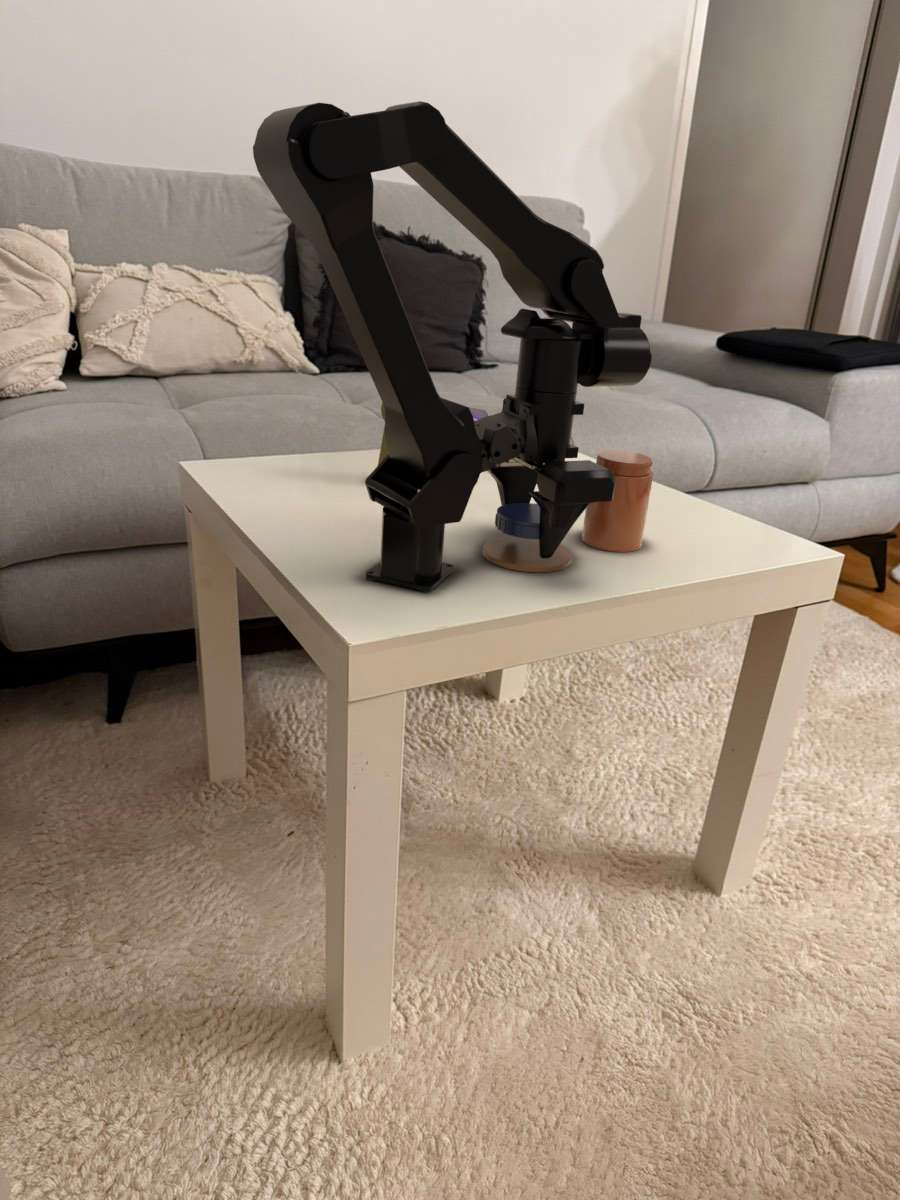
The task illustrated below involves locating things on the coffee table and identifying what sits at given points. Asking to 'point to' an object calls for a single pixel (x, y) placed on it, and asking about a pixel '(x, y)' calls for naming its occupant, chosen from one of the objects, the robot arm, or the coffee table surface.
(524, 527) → the jar lid
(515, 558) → the coaster
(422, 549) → the robot arm
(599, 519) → the jar
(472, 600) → the coffee table surface
